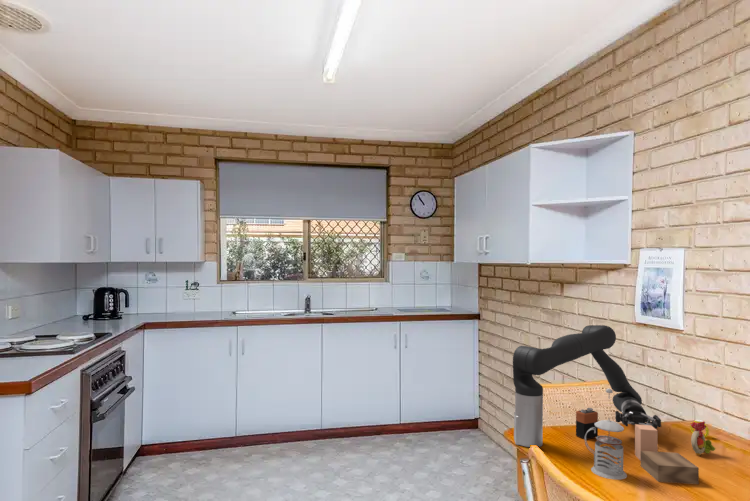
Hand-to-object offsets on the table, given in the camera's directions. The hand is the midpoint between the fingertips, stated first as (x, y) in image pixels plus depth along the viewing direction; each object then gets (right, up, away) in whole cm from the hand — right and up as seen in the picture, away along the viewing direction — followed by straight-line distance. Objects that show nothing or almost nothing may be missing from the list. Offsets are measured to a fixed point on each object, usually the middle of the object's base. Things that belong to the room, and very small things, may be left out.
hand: (640, 425), depth 166 cm
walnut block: (-5, -7, -23) cm, 24 cm away
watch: (+28, -9, +12) cm, 32 cm away
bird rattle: (+17, -8, -6) cm, 20 cm away
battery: (-15, -7, +8) cm, 19 cm away
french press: (-23, -6, -22) cm, 32 cm away
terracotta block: (-4, -7, -11) cm, 13 cm away
